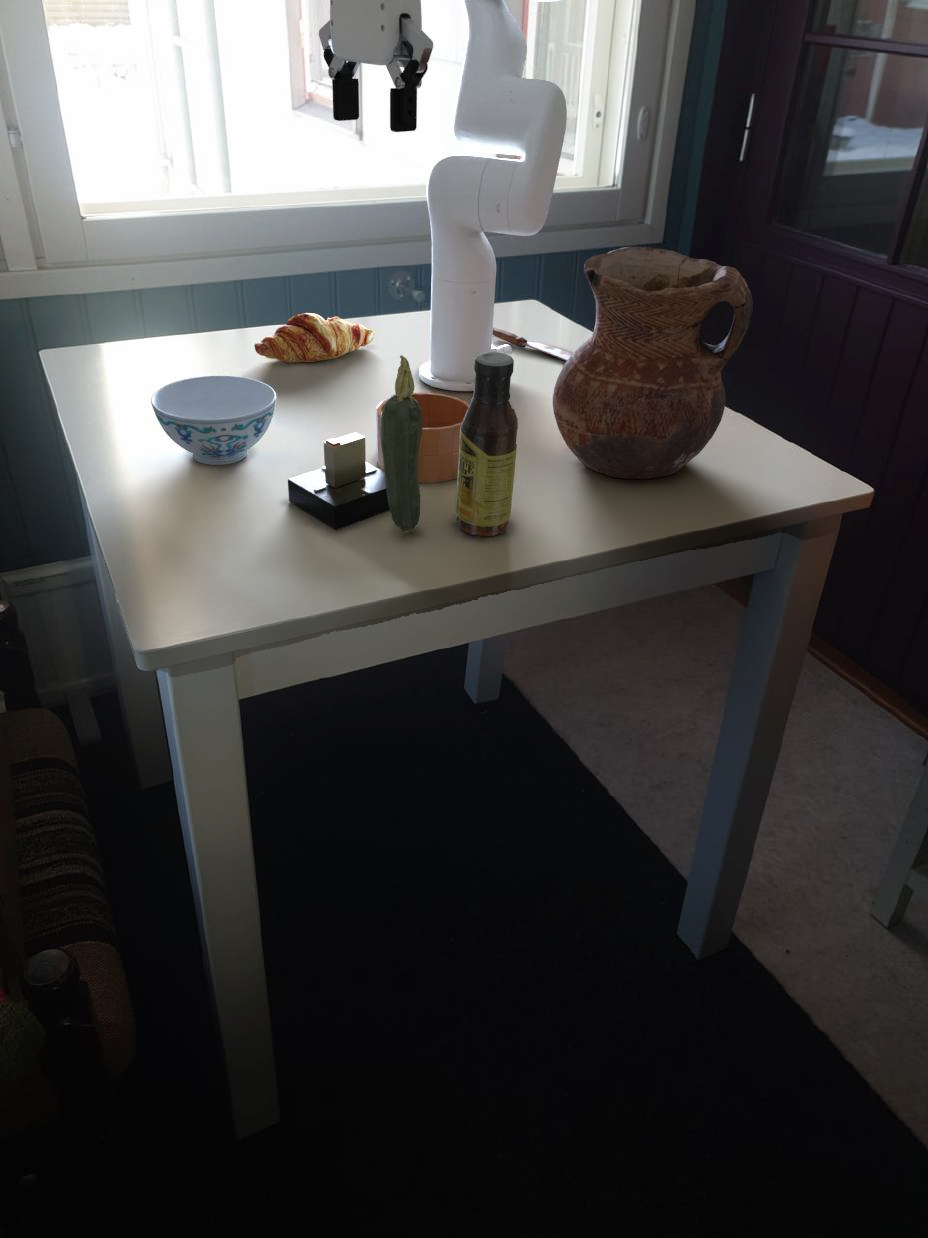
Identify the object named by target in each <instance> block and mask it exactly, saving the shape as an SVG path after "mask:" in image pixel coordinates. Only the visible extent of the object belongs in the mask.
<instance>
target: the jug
mask: <svg viewBox="0 0 928 1238" xmlns="http://www.w3.org/2000/svg"><path fill="white" fill-rule="evenodd" d="M583 274H584V275H585V277H586V279H587V282H588V284H589V286H590V289H591V290H592V293H593V296H594V301H595V324H594V328H593V332H592V334H591V336H590V337H589V338H587V340H586V341H584V342H583V343H582V344H581V345H580V346H579V347H577V348H576V350H574V352H572V353H571V354H572V355H571V356H570V357H569V359H568V360H567V361H565V363H564V365H562V368H561V370H560V372H559V374H558V376H557V378H556V381H555V384H554V387H553V394H552V410H553V416H554V419H555V421H556V422H555V423H556V425H557V430H558V432H559V433H560V435H561V437H562V439H563V441H564V443H565V445H566V446H567V447H568V449H569V450H570V451H571V453H572V454H573V455H574V456H575V457H576V458H577V459H578V460H579V461H580V462H581V463H582V464H583V465H584V466H585V467H586V468H588V469H590V470H592V471H594V472H596V473H599V474H602V475H606V476H608V477H611V478H618V479H633V480H635V479H636V480H637V479H638V480H647V479H659V478H663V477H668V476H670V475H673V474H675V473H677V472H679V470H681V469H682V468H683V467H684V466H686V465H687V464H688V463H689V462H691V461H692V460H693V459H694V458H696V456H698V455H699V454H700V453H701V452H702V451H703V450H704V448H705V447H706V446H707V444H708V443H710V441H711V439H712V438H713V437H714V435H715V433H716V432H717V430H718V428H719V426H720V424H721V421H722V418H723V415H724V412H725V408H726V389H725V386H724V383H723V380H722V370H723V369H724V367H725V366H726V365H727V363H728V360H730V358H731V357H732V356H733V354H734V353H735V352H736V351H737V350H738V349H739V347H740V345H741V342H742V341H743V339H744V337H745V336H746V333H747V331H748V329H749V327H750V323H751V317H752V315H753V312H754V305H753V304H754V303H753V294H752V293H751V290H750V288H749V286H748V284H747V281H746V280H745V278H744V277H743V276H742V274H741V273H740V271H739V270H737V268H735V267H732V266H729V265H724V266H723V265H720V264H718V263H717V262H715V261H712V260H709V259H707V258H705V259H702V258H694V257H690V256H688V255H684V254H683V253H679V252H676V251H675V250H669V249H664V248H658V247H657V248H656V247H649V246H626V247H620V248H617V249H614V250H610V251H608V252H607V253H602V254H598V255H593V256H591V257H590V258H588V259H587V260H586V261H585V262H584V265H583ZM724 302H726V303H727V304H729V305H730V306H731V307H732V308H733V321H732V323H731V327H730V329H729V332H728V334H727V336H726V337H725V338H724V340H722V341H721V342H720V343H718V344H714V345H712V344H708V343H706V342H705V341H704V340H703V333H704V328H705V324H706V322H707V319H708V316H709V314H710V313H711V311H712V309H714V308H715V307H716V306H718V304H719V303H724Z"/></svg>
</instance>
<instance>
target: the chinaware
mask: <svg viewBox="0 0 928 1238" xmlns="http://www.w3.org/2000/svg"><path fill="white" fill-rule="evenodd" d="M276 401H277V393H276V391H275V390H274V389H273V387H271V385H269V384H267V383H265V382H262V381H260V380H257V379H253V378H250V377H245V376H244V377H243V376H235V375H206V376H205V375H204V376H196V377H191V378H189V377H188V378H185V379H180V380H177V381H174V382H170V383H168V384H166V385H164V386H162V387H160V388H159V389H157V390H156V391H154V393H153V394H152V396H151V399H150V404H151V406H152V410H153V412H154V414H155V417H156V419H157V421H158V423H159V425H160V427H161V428H162V429H163V431H164V433H165V434H166V435H167V436H168V437H169V438H170V439H171V440H172V441H173V442H174V443H175V444H176V445H178V446H179V447H180V448H181V449H183V450H184V451H187V452H188V453H191V454H192V456H193V458H194V460H196V461H197V462H199V463H202V464H204V465H209V466H210V465H211V466H223V465H230V464H234V463H238V462H240V461H242V460H244V459H245V458H246V457H247V455H248V451H249V450H250V449H251V448H252V447H254V446H255V445H256V444H257V443H258V442H259V441H260V440H261V439H262V438H263V436H264V435H265V434H266V432H267V431H268V429H269V427H270V425H271V423H272V420H273V417H274V414H275V413H274V412H275V408H276V403H277V402H276Z"/></svg>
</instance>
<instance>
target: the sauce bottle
mask: <svg viewBox="0 0 928 1238" xmlns="http://www.w3.org/2000/svg"><path fill="white" fill-rule="evenodd" d="M514 364H515V360H514V358H513V357H512V355H511V356H509V355H507V354H503V353H499V352H486V353H485V352H484V353H481V354H479V355H478V356H476V357H475V362H474V371H475V389H474V391H473V394H472V395H473V396H472V398H471V400H470V402H469V404H470V405H469V407H468V410H467V412H466V414H465V417H464V419H463V422H462V424H461V427H460V442H459V459H458V478H457V482H456V502H455V503H456V504H455V505H456V506H455V513H456V524H457V525H458V527H459V529H461V530H462V531H464V533H466V534H467V535H470V536H476V537H477V536H478V537H495V536H498V535H499V536H500V535H501V534H503V533H505V531H506V530H507V529H508V527H509V523H510V519H511V516H512V515H511V514H512V503H513V493H514V484H515V483H514V482H515V474H516V473H515V472H516V471H515V470H516V461H517V451H518V449H517V448H518V444H517V440H518V439H517V436H518V429H519V426H518V425H519V422H518V417H517V414H516V410H515V409H514V408H513V407H512V404H511V402H510V399H511V392H510V390H511V381H512V378H511V377H512V375H513V373H514V367H515V365H514Z"/></svg>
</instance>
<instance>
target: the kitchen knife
mask: <svg viewBox="0 0 928 1238" xmlns="http://www.w3.org/2000/svg"><path fill="white" fill-rule="evenodd" d="M492 336H494V337H496V338H498V339H500V340H502V341H504V342H506V343H509V344H511V345H516V346H517V347H520V348H526V347H528V348H531V349H534V350H536V351H539V352H542V353H544V354H547V355H550V356H552V357H555V358H558V359H560V360H563V361H565V362H566V361H567V360H568V359H569V357H570V356H571V355H572V354H573V353H570V352H568V351H565V350H563V349H560V348H558V347H555V346H551V345H548V344H544V343H540V342H535V341H530V340H527V339H526V338H525V337H523V336H519V335H517V334H515V333H512V332H509V331H506V330H503V329H500V328H498V327H497V328H496V327H493V334H492Z"/></svg>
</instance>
